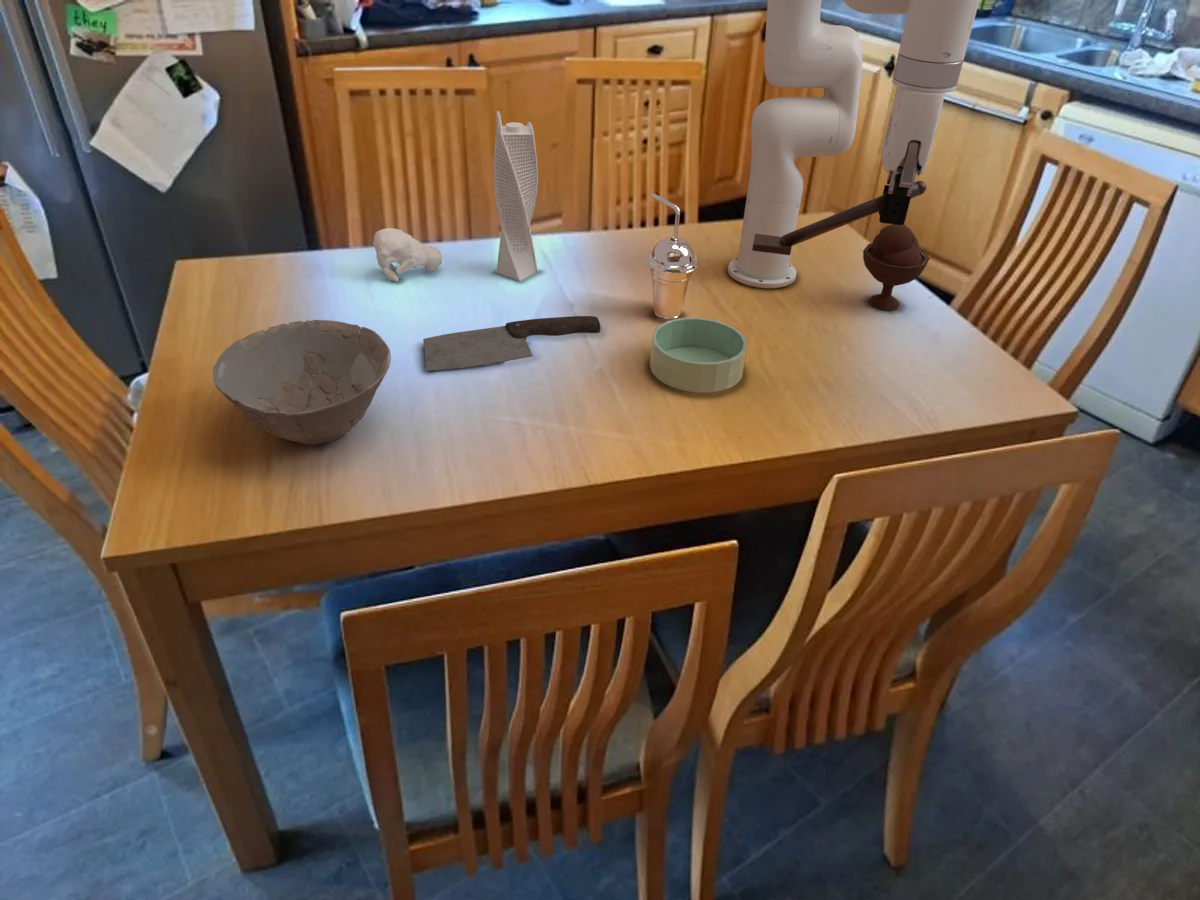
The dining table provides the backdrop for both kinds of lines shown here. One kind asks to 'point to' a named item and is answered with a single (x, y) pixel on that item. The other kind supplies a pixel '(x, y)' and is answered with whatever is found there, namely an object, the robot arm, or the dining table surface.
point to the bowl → (697, 355)
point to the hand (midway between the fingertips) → (891, 218)
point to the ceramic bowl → (304, 378)
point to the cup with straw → (670, 270)
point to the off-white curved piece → (403, 252)
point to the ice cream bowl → (893, 262)
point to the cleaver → (498, 341)
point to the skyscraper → (515, 197)
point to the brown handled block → (824, 225)
